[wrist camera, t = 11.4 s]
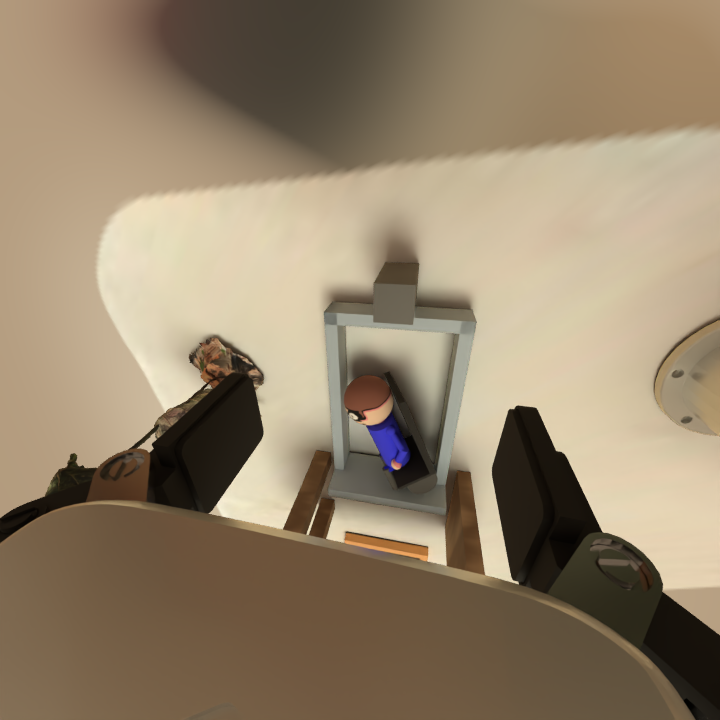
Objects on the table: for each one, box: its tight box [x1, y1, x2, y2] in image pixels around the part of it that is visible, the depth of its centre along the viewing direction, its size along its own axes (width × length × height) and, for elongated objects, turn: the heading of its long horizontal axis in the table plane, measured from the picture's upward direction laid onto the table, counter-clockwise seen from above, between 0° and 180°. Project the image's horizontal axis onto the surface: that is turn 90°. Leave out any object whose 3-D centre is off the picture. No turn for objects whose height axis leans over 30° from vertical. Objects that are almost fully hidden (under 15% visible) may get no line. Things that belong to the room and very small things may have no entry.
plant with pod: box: [45, 338, 264, 496], centre depth 30 cm, size 8×11×20 cm
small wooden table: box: [283, 451, 485, 575], centre depth 37 cm, size 20×12×15 cm, turn 90°
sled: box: [324, 262, 477, 516], centre depth 31 cm, size 13×26×7 cm, turn 0°
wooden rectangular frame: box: [345, 532, 428, 561], centre depth 50 cm, size 13×5×1 cm, turn 90°
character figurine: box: [344, 372, 438, 494], centre depth 33 cm, size 8×7×15 cm
